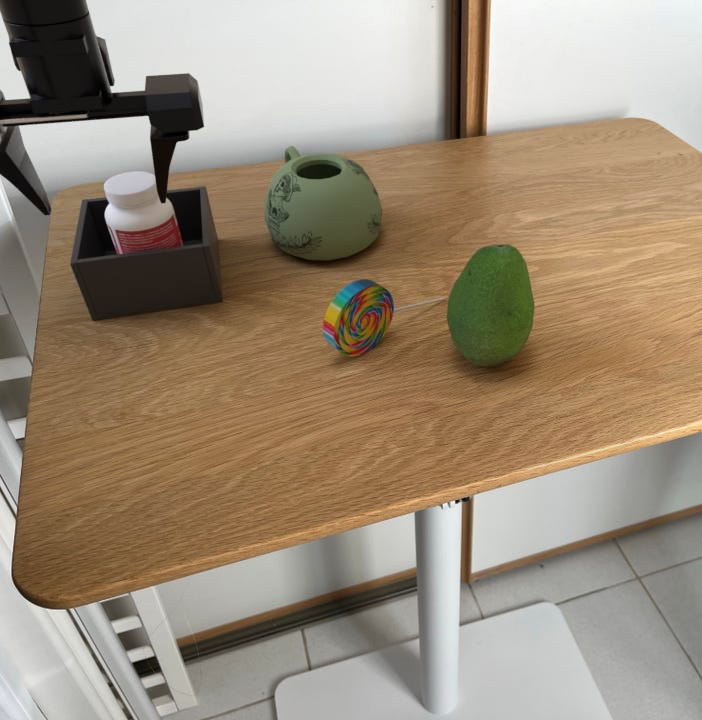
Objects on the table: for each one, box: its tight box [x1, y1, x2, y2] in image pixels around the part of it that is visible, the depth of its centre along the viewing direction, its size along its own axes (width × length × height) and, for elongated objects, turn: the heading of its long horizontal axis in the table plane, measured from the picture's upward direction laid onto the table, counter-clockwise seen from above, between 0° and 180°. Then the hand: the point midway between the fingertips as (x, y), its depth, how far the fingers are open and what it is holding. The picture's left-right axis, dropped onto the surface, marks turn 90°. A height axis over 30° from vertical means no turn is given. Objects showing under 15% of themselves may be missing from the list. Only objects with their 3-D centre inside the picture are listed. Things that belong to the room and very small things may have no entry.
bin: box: [69, 186, 224, 321], centre depth 76 cm, size 12×12×7 cm
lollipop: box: [322, 278, 446, 358], centre depth 71 cm, size 7×2×15 cm
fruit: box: [446, 243, 535, 368], centre depth 66 cm, size 8×8×12 cm
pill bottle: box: [103, 170, 184, 254], centre depth 73 cm, size 6×6×11 cm
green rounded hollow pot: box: [264, 145, 383, 262], centre depth 83 cm, size 16×13×9 cm
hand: (107, 207), depth 64 cm, fingers open, 9 cm apart
